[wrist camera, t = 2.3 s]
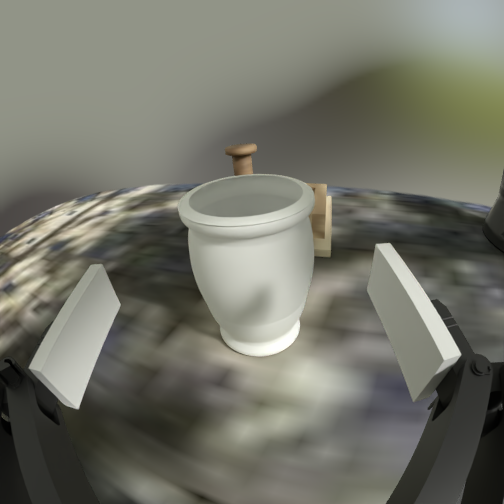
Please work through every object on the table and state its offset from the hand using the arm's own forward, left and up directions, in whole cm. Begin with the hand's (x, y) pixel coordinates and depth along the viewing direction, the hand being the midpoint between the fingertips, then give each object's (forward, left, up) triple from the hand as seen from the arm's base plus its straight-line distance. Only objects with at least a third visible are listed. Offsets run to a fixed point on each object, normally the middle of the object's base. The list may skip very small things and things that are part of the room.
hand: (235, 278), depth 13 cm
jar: (+2, -10, -15) cm, 18 cm away
